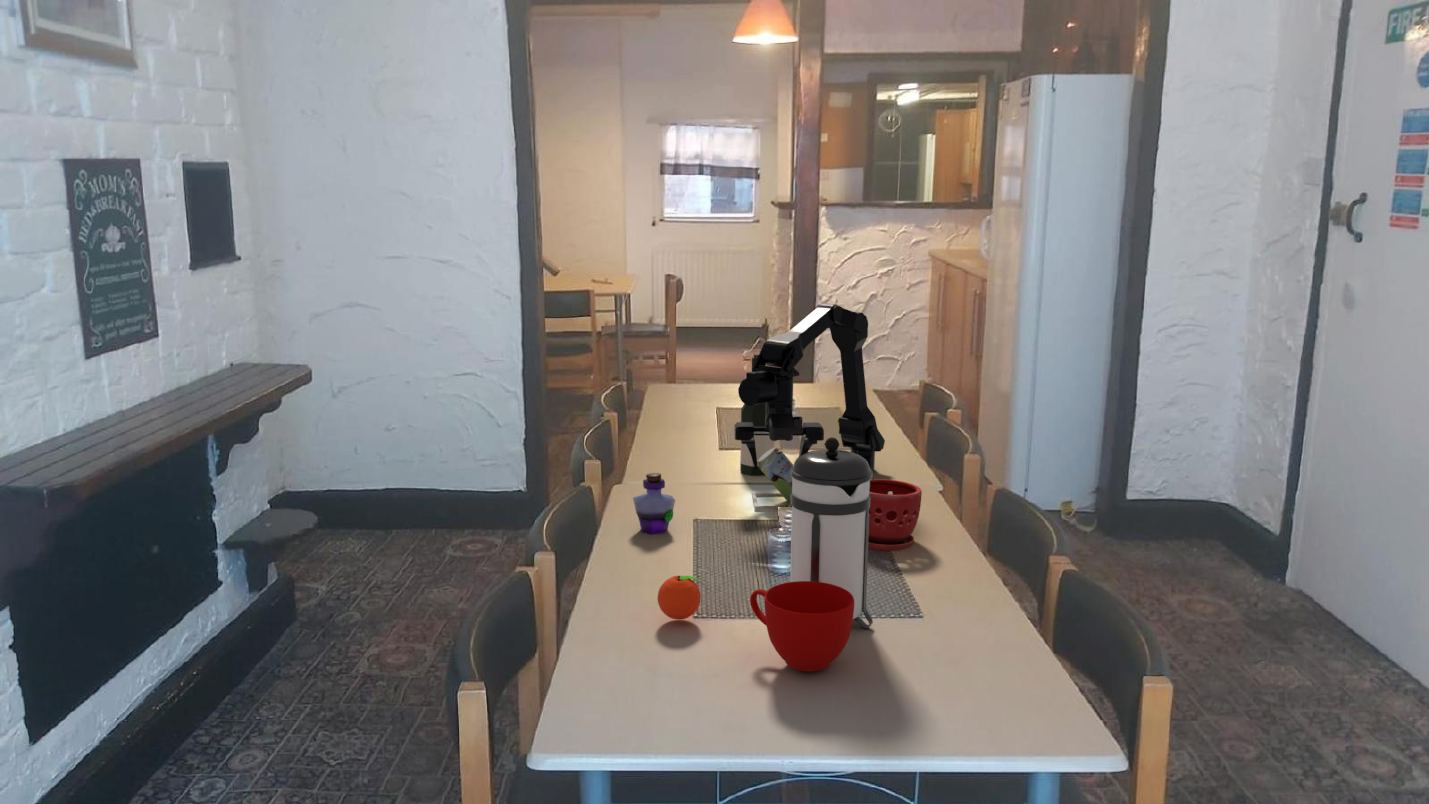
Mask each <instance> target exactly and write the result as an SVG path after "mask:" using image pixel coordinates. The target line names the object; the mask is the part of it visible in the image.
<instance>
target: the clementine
mask: <svg viewBox="0 0 1429 804" xmlns="http://www.w3.org/2000/svg"><path fill="white" fill-rule="evenodd" d="M694 580H696V581H700V582H701V579H699V578H697V577H695V576H691V575H673V576H670V577H669V578H666V579H665V581H664V582H663V583H662V584H661V585H660V587H659V589H658V591H657V604H658V606H659V608H660V611H661V612H662V613H663V614H664V615H666V616H667V617H668V618H670V619H673V620H685V619H688V618H689V617H692V616H693V615H694V614H695V613H696V611H698V609H699V606H700V604H701V598H702V597H701V591H700V589H699V586H698V584H697V583H696V582H695V581H694ZM702 584H703V586H704V589H706V586H705V584H704V583H702Z"/></svg>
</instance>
